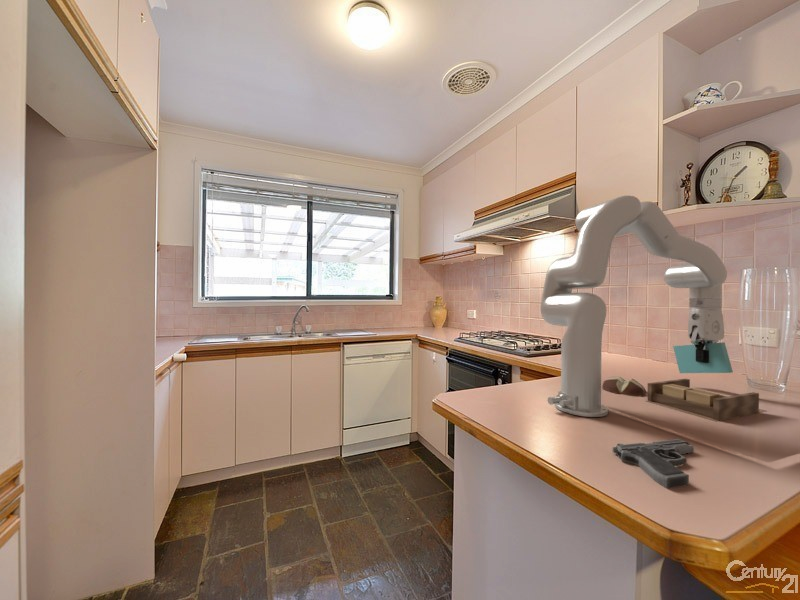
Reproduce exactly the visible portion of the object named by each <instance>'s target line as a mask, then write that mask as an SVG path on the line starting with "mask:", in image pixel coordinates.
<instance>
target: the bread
mask: <svg viewBox="0 0 800 600" xmlns="http://www.w3.org/2000/svg"><path fill="white" fill-rule="evenodd" d="M601 390H602V391H605V392H608V393H612V394H616V395H617V394H618V395H624V396H629V397H643V396H644V395H646V393H647V390H646V388H645V386H643V385H642V384H641V383H640V382H639V381H637V380H636V379H634V378H631V379H627V380H625V378H623V377H621V376H610V377H608V378H606V379H605V380H604V381H603V382H602V384H601Z"/></svg>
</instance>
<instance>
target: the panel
mask: <svg viewBox="0 0 800 600" xmlns="http://www.w3.org/2000/svg"><path fill="white" fill-rule="evenodd" d="M672 347H673V351H674V354H675V355H674V356H675V359H676V364H677V368H678V371H679V372H678V373H679V374H730V373H731V374H732V373H734V371H733V368H732V364H731V361H730V357H729V353H728V350H727V346H726V343H725V341H724V342H723V341H722V342H717V343H709V344H707V350H709V363H702V362H696V349H695V345H694V344H684V345H683V344H682V345H673V346H672Z"/></svg>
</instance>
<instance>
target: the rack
mask: <svg viewBox="0 0 800 600" xmlns="http://www.w3.org/2000/svg"><path fill="white" fill-rule="evenodd" d="M690 383H691V379H690V378H689V379H688V378H681V379H680V378H679V379H673V380H672V379H671V380H663V381H654V382H648V383H647V399H646V400H645V402H647V403H650V404H654V405H656V406H660V407H664V408H667V409H670V410H674V411H678V412H681V413H683V414H684V413H685V414H688V415H691V416H695V417H699V418H701V419H704V420H705V419H706V420H709V421H712V422H716V423H717V422H721V421H725V420H726V421H727V420H731V419H735V418H740V417H746V416H751V415H755V414H759V413H764V412H767V410H764V409H761V408H759V407H760V393H759V392H756V391H755V392H754V391H752V392H747V393H741V394H735V395H734V394H733V395H728V396H727V395H723V394H720V398H715V399H713V407H710V406H706V405H702V404H698V403H694V402H690V401H687V400H683V399H679V398H675V397H671V396H667V395H663V385H667V384H675V385H679V386H684V387H688V388H691V387H690V386H691V384H690Z"/></svg>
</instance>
